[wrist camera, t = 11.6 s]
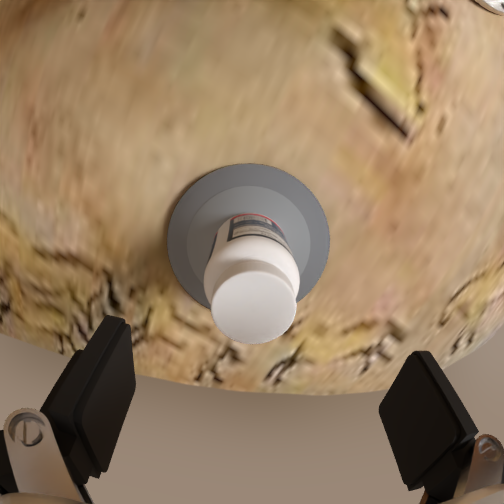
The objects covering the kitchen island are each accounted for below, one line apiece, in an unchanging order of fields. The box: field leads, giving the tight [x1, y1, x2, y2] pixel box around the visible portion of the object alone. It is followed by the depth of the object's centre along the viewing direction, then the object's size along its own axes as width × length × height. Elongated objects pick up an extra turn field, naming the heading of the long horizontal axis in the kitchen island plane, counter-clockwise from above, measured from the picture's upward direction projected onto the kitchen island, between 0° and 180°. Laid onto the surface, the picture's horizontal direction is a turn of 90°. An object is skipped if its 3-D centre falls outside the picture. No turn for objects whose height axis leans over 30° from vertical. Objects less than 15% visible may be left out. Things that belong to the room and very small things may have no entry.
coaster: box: [167, 163, 330, 309], centre depth 23 cm, size 12×12×1 cm
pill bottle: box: [204, 213, 300, 344], centre depth 18 cm, size 5×5×9 cm
